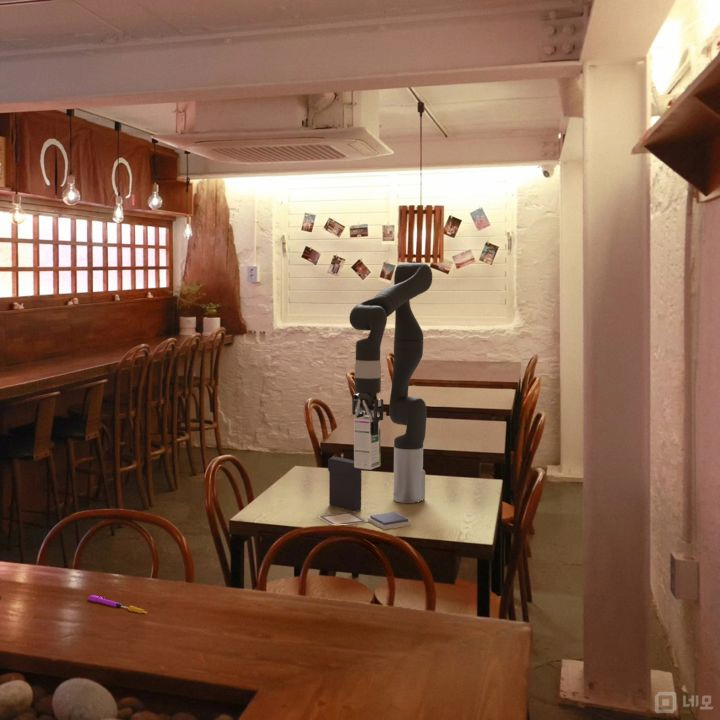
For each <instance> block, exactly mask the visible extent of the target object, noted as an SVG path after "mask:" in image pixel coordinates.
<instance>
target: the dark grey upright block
mask: <svg viewBox="0 0 720 720" xmlns="http://www.w3.org/2000/svg"><path fill="white" fill-rule="evenodd" d="M327 471H328V473H329V476H328V478H329V482H328V483H329V487H328V488H329V497H328V498H329V499H328V501H329V502H328V503H329V504H328V505H329V506H331V507H334V508H339V509H342V510H346V511H348V512H352V513H355V512H358V510H359V511H361V510H362V469H360V468H355V467H354V459H353V460H352V459H349V458H344V457H340V456H334V457H330V458H328V459H327Z"/></svg>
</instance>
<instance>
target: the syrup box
mask: <svg viewBox="0 0 720 720" xmlns="http://www.w3.org/2000/svg"><path fill="white" fill-rule="evenodd" d="M373 417H374V415H373ZM370 422H371V421H370V417H369V415H364V416H363V417H359V418H356V417H355V418H354V419H353V460H354V467H355V468H360V469H361V470H370V471H372V470H373V469H376V468H379V467H381V465H382V463H381V460H382V459H381V457H382V456H381V420H380V421H379V422H378V435H371V434H370Z"/></svg>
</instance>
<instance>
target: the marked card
mask: <svg viewBox="0 0 720 720" xmlns="http://www.w3.org/2000/svg"><path fill="white" fill-rule="evenodd" d="M318 519H320V520H322V521H324V522H325V523H327V524H329V525H330V524H351V525H356V524H355V523H357V524H362V523H367V522H368V520H365V519H364V518H362V517H361V516H358V515H357V514H354V512H352V511H345V512H339V513H333V514H332V513H331V514H326V515H324V514H323V515H320V516H318Z"/></svg>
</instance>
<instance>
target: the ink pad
mask: <svg viewBox="0 0 720 720" xmlns="http://www.w3.org/2000/svg"><path fill="white" fill-rule="evenodd" d="M367 522H369V523H371V524H372V525H374V524H375V526H377V527H378V528H380V529H382V530H387V529H388V530H389V529H395V528H401V527H407V526H411V525H412V524H411V523H412V522H411V521H410V520H409V518H407V517H405V516H403V515H401V514H399V513H397V512H395V511H392V512H386V513H385V512H384V513H378V514H377V513H376V514H373V515H371V514H370V517H369V516H368V517H367Z"/></svg>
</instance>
